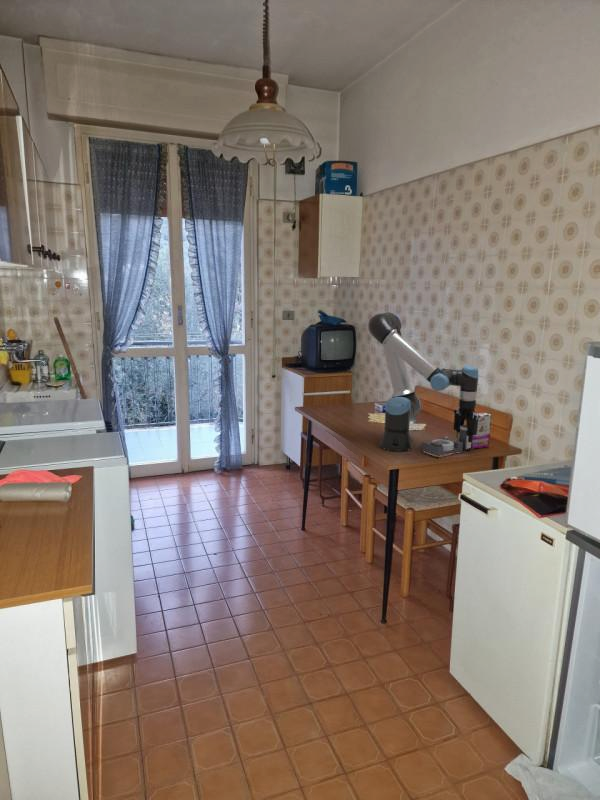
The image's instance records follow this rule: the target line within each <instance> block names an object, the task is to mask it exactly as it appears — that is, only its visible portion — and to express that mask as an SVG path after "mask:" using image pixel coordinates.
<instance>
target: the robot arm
mask: <svg viewBox="0 0 600 800" xmlns="http://www.w3.org/2000/svg"><path fill="white" fill-rule="evenodd" d="M402 325H403V324H402V320H401V318H400V316H399V315H397V313H396V314H395V313H392V312H383V313H376V314H374V315H373V316H371V318H370V319H369V322H368V325H367V326H368V327H367V328H368V332H369V333H370V335H371V336H372V337H373V338H374V339H375V340H376V341H377V342H378V344H380V345H381V346H382V349H383V354H384V357H385V362H386V365H387V370H388V373H389V374H388V375H389V379H390V382H391V386H392V390H393V391H392V393H391V397H390V398H388V399H387V400H386V402H385V406H384V409H385V410H384V411H385V412H384V431H383V434H382V437H381V439H380V442H379V447H380V446H381V447H382V449H383V448H385V449H384V450H386V449H389V450H388V451H390V450H408V449H410V450H412V448H413V443H412V439H411V436H410V435H411V434H410V423H411V422H410V421H411V420H413V419H414V418H415V417H417V416H418V414H419V413H420V411H421V409H422V408H421V405H422V404H421V401H420V398H419V397H417V396H416V395H417V394H416V391H415V389H413V388H412V387H411V385H410V384H411V383H410V380H409V375H408V371H407V367H406V364H408V365H409V366H410V367H411V368H412V369H414V371H416V372H417V373H418V374H419V375H420V376H422V377H423V378H424V379H425V380H426V381H427V382H428V383H429V384H430V386H431V389H433V390H434V391H437V392H439V391H440V392H441V391H444V390H445V389H447V388H449V386H455V387H459V400H458V407H459V408H457V409H454V410H453V413H454V420H453V430H454V431H456V439H457V441H459V437H460V426H461V425H465V421H466V423H467V428H468V435H467V436H466V448H465V449H468V450H470V449H469V448H471V442H472V439H473V435H477V427H478V419H479V417H480V416H479V415H477V414H478V413H476V412H475V410H476V409H475V408H476V405H477V401H476V400H477V393H478V391H477V390H478V382H479V368H478V367H476V366H473V365H472V366H471V365H465V366H464V365H463V366H461V369H453V368H451V369H450V368H445V367H443V368H439V367H438V366H437V365H436V364H434V363H433V362H432V361H431V360H430V359H429V358H427V356H425V355H424V354H423V353H421V351H419V350H418V349H417V348H416V347H414V346H413V344H411V343H410V342H409V341H407V340H406V339H405V338H404V337H403V336H402V332H401V329H402ZM381 447H380V448H381ZM408 451H409V450H408Z"/></svg>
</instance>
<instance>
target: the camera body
mask: <svg viewBox="0 0 600 800" xmlns="http://www.w3.org/2000/svg"><path fill="white" fill-rule="evenodd" d="M421 445H422V447H421V452H422V451H425V452H428V453H431V454H434V455H437V456H440V455H444V454H449V453H456V452H462V453H463V450H462V447H463V442H460V441H457V440H456V439H453V438H451V437H449V436H444V437H442V438H439V439H437V438H436V439H432V440H431V442H430V441H427V440H426V441H422V444H421Z"/></svg>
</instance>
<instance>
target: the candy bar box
mask: <svg viewBox="0 0 600 800" xmlns="http://www.w3.org/2000/svg"><path fill="white" fill-rule="evenodd" d="M476 414H477V415H479V416H480V417H479V419H478V427H477V435H473V439H472V442H471V448H470V449H469V450H471V449H472V450H476V449H475V448H479V449H483V447H485V448H489V447H488V446H490V437H491V426H492V425H491V422H492V414H491V413H487V412H481V413H480V412H479V413H476ZM465 425H467V422H466V424H465Z"/></svg>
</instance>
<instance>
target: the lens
mask: <svg viewBox="0 0 600 800" xmlns="http://www.w3.org/2000/svg"><path fill="white" fill-rule="evenodd" d="M467 435H468V428H467V425H466V424H464V425H461V426H460V437H459V441H460V442H463V447H462V451H464V450H466V451H468V450H467V449H465V448H466V436H467Z"/></svg>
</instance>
